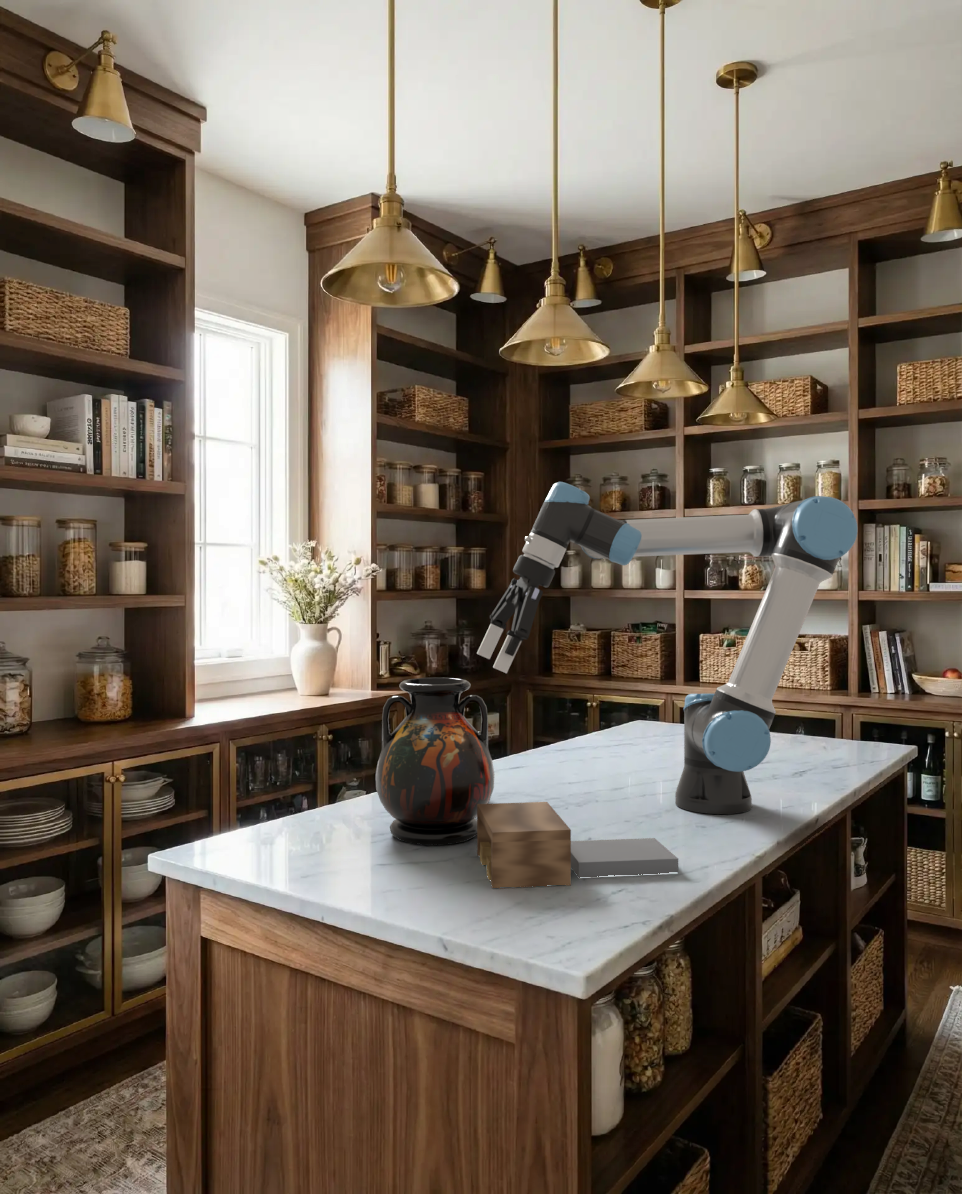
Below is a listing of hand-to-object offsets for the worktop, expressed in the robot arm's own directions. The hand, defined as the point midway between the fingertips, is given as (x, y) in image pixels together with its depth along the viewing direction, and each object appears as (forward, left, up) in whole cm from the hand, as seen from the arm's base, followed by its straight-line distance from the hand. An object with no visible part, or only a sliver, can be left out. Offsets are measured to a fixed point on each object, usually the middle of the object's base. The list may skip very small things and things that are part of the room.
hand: (490, 663), depth 182 cm
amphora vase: (+11, +7, -31) cm, 33 cm away
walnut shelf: (-1, +29, -30) cm, 42 cm away
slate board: (-17, +29, -31) cm, 46 cm away
